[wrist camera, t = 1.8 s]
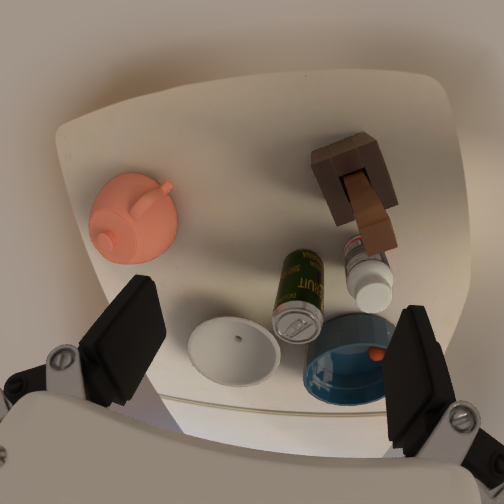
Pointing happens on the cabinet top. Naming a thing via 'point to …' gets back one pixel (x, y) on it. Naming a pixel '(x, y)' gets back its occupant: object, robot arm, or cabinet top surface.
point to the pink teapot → (133, 219)
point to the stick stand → (346, 161)
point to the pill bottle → (367, 277)
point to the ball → (376, 353)
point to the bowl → (347, 360)
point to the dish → (233, 351)
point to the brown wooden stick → (369, 214)
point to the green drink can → (300, 298)
